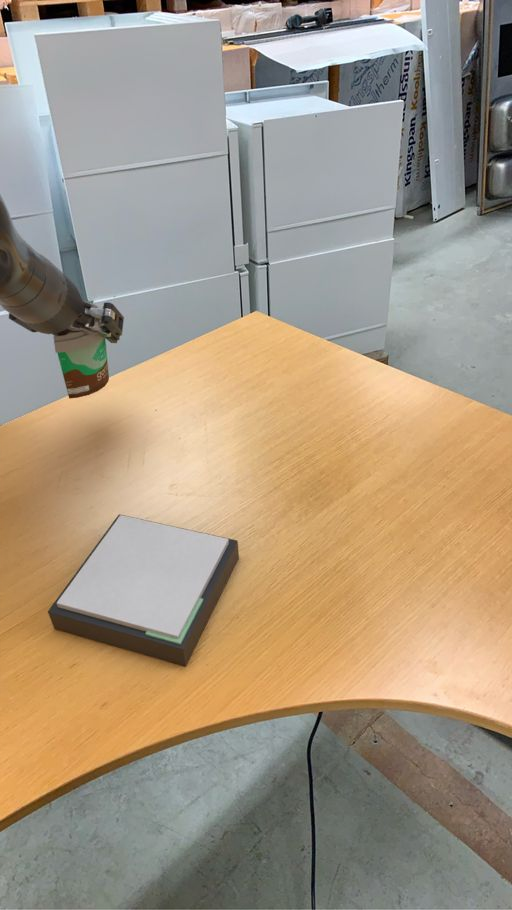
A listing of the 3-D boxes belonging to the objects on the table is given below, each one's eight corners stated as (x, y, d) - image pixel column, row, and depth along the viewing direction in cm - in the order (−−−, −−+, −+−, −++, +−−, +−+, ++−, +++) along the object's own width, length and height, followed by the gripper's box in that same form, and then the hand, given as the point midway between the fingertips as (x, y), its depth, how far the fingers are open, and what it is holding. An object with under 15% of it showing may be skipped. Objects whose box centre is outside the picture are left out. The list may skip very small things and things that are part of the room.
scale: (53, 628, 72) (45, 606, 70) (122, 530, 84) (117, 509, 82) (185, 666, 68) (181, 644, 65) (239, 557, 80) (237, 535, 77)
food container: (112, 402, 90) (100, 336, 84) (67, 404, 90) (52, 338, 84) (121, 358, 100) (111, 297, 94) (80, 360, 100) (68, 298, 94)
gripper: (98, 262, 75) (142, 311, 92) (-18, 259, 77) (46, 308, 94) (90, 325, 74) (136, 363, 91) (-27, 320, 77) (39, 358, 93)
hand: (90, 335), depth 92 cm, fingers closed on food container, 6 cm apart
